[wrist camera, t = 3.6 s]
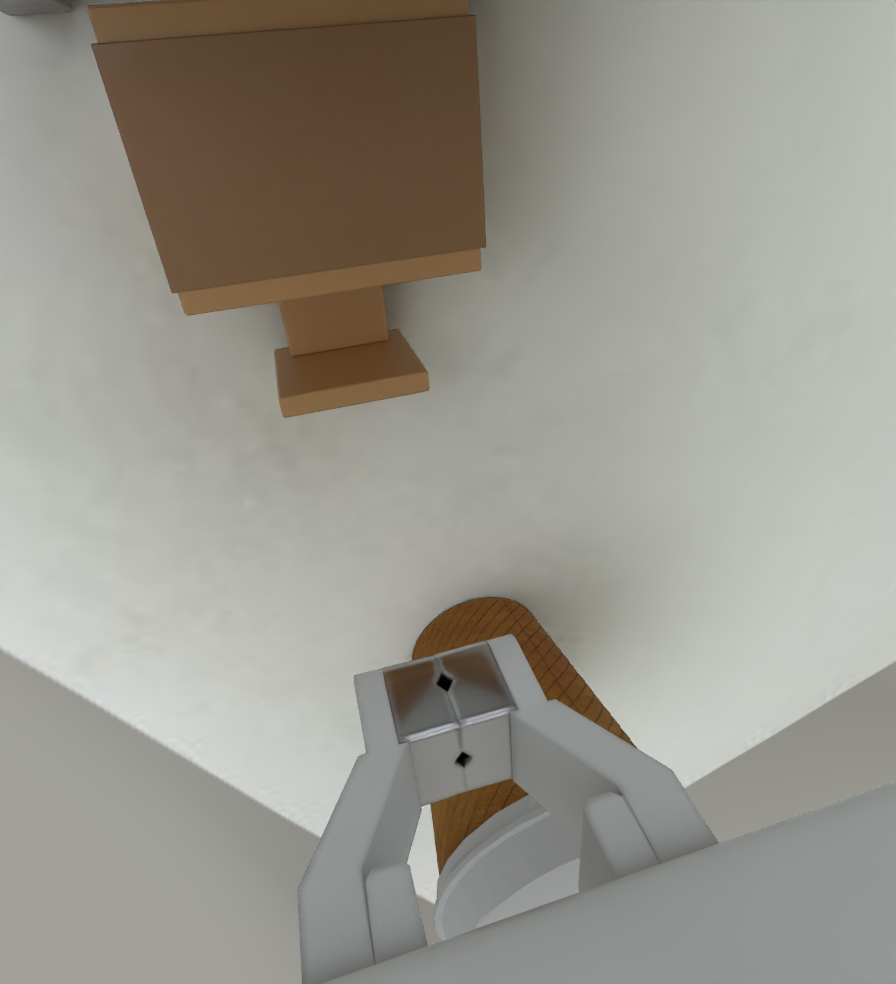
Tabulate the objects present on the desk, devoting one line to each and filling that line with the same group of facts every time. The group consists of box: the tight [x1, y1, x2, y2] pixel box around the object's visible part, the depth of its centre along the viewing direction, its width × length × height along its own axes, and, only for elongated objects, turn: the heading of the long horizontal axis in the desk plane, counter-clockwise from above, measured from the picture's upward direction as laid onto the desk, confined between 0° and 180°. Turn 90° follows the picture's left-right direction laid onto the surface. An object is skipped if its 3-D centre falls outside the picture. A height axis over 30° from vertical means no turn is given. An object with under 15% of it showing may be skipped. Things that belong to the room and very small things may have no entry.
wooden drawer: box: [87, 0, 486, 418], centre depth 16 cm, size 9×7×5 cm
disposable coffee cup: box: [412, 598, 698, 941], centre depth 24 cm, size 10×10×12 cm
